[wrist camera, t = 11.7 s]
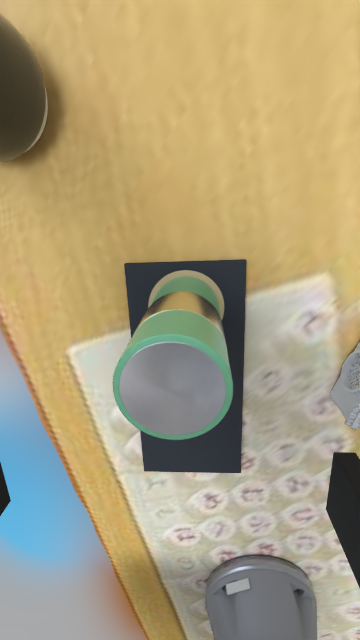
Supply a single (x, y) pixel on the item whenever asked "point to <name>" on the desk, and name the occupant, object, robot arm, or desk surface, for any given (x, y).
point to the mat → (230, 288)
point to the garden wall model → (349, 389)
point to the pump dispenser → (19, 94)
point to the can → (176, 364)
